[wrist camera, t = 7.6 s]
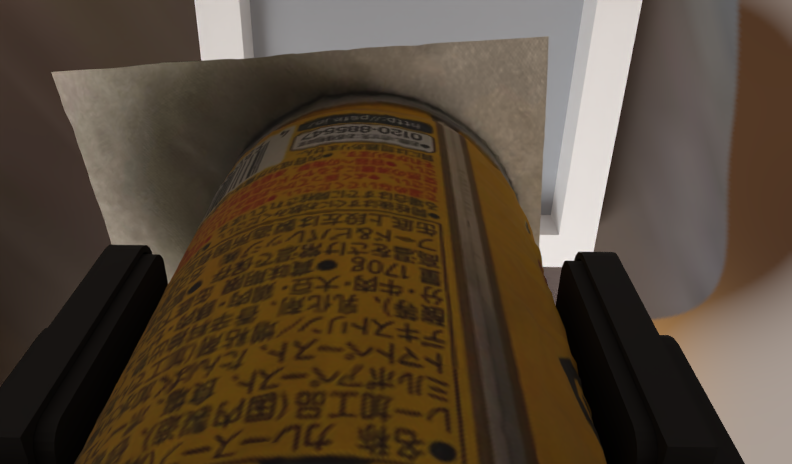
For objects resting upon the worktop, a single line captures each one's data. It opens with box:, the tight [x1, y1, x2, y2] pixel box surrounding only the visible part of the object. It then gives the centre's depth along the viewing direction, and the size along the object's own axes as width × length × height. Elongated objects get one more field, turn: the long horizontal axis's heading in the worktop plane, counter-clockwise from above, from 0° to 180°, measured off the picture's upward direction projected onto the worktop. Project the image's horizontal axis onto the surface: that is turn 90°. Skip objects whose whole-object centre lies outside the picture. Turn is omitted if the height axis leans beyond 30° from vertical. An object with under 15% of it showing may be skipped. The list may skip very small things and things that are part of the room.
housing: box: [194, 0, 642, 267], centre depth 25 cm, size 16×15×2 cm
